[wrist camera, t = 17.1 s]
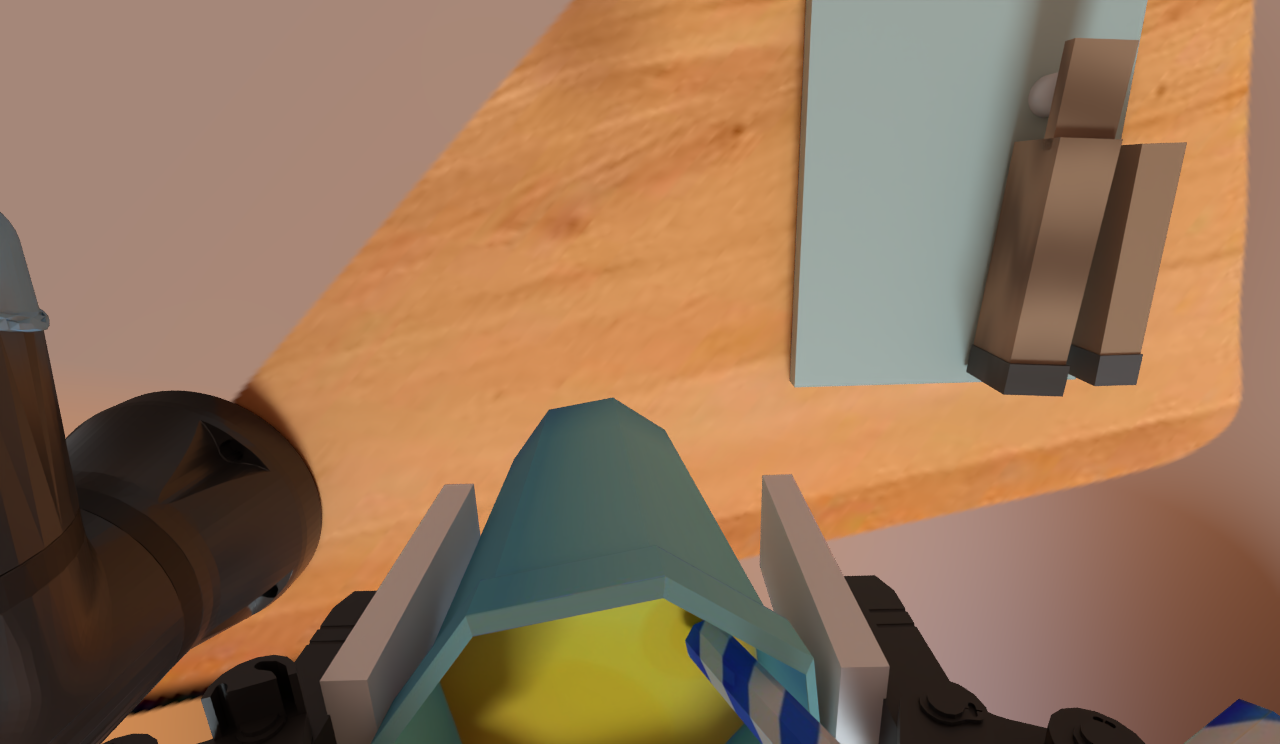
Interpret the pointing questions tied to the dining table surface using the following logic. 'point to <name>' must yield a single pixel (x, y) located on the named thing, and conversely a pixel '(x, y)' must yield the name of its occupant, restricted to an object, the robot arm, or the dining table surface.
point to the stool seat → (950, 186)
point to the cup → (624, 614)
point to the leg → (1052, 224)
